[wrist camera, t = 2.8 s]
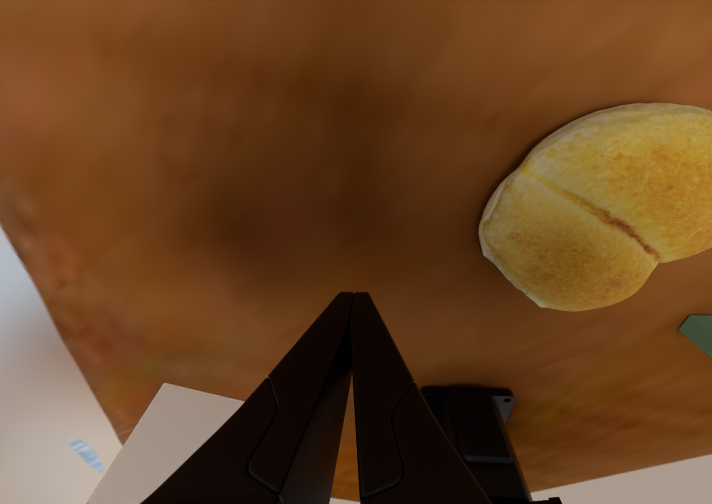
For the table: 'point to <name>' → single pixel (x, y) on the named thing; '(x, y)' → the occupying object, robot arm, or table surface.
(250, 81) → the table surface
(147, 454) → the milk
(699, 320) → the mini golf green
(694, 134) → the bread roll
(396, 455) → the robot arm
